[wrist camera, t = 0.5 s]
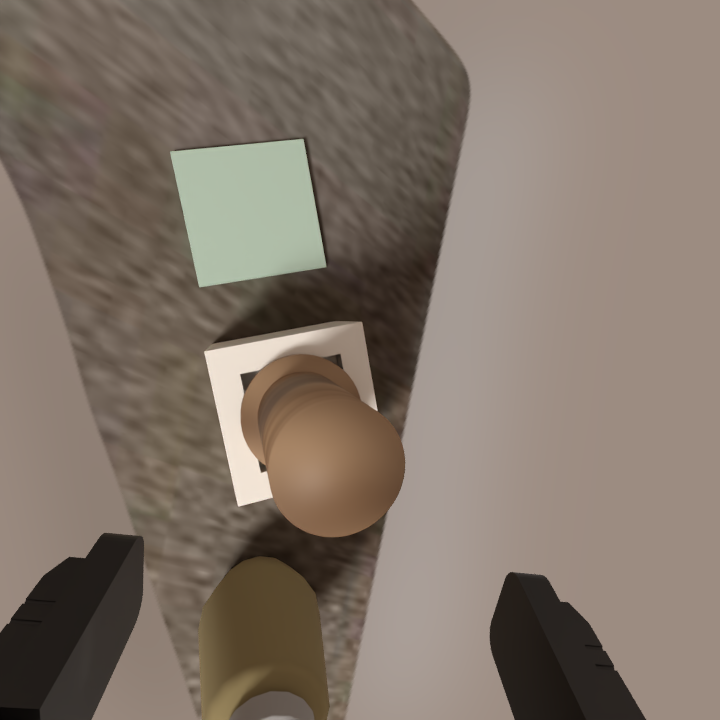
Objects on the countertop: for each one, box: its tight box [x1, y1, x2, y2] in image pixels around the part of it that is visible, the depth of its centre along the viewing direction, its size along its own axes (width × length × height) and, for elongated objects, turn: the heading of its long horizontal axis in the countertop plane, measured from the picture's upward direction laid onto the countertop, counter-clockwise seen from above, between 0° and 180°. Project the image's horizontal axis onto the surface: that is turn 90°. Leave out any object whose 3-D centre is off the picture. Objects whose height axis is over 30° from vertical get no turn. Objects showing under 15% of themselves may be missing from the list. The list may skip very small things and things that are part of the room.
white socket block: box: [204, 321, 377, 507], centre depth 32 cm, size 9×9×8 cm
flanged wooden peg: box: [241, 354, 405, 537], centre depth 23 cm, size 7×7×12 cm
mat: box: [170, 139, 326, 287], centre depth 34 cm, size 9×9×1 cm
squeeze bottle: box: [198, 556, 330, 720], centre depth 27 cm, size 8×8×18 cm
